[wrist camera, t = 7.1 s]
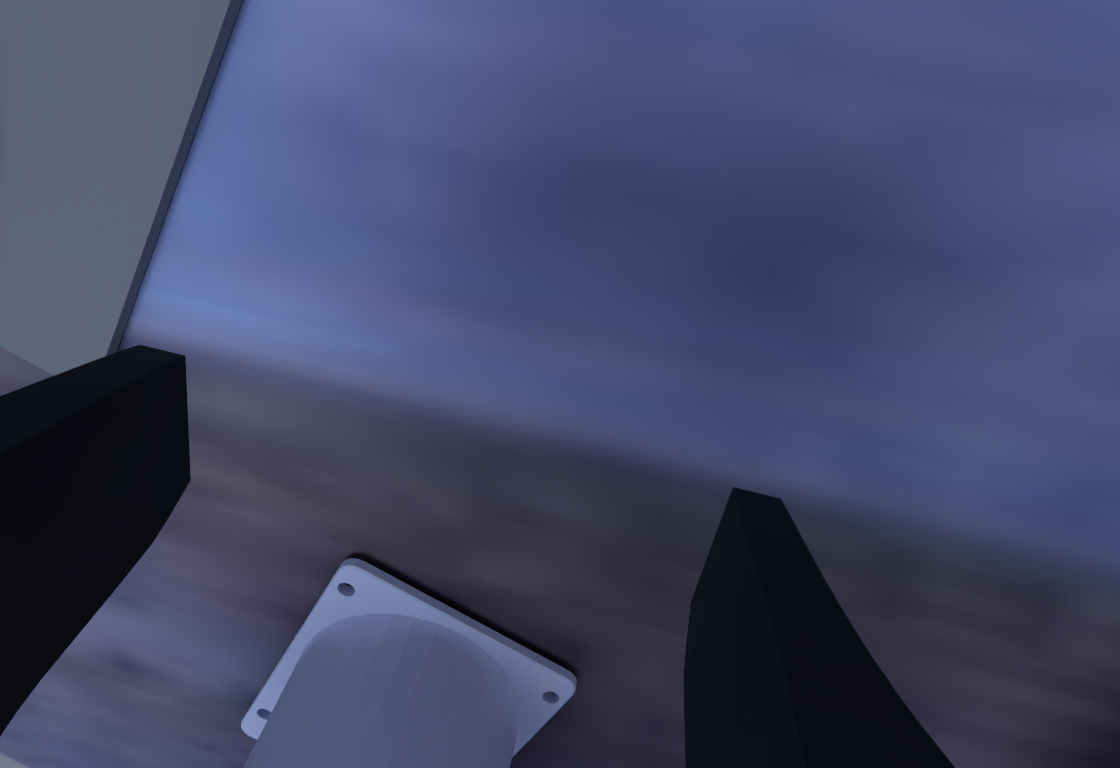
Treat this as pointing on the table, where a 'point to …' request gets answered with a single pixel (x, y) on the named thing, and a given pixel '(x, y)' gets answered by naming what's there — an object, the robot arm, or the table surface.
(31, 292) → the mat
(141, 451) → the robot arm
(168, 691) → the table surface
